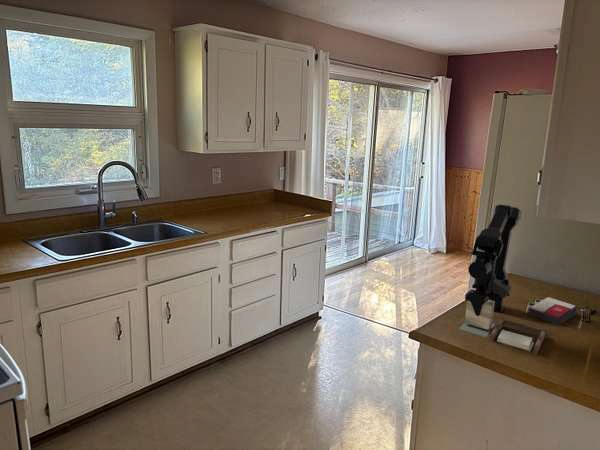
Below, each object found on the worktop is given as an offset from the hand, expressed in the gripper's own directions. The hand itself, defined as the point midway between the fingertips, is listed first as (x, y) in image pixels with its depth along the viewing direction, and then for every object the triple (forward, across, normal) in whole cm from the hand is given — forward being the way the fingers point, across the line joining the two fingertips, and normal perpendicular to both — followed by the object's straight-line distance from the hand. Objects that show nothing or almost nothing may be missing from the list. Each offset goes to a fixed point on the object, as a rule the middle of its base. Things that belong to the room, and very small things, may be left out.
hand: (479, 313), depth 158 cm
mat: (+6, 0, 0) cm, 6 cm away
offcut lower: (+6, -3, -13) cm, 15 cm away
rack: (+6, 0, -13) cm, 14 cm away
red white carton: (+6, +30, -19) cm, 36 cm away
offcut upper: (+5, -3, -13) cm, 14 cm away
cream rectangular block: (+4, 0, 0) cm, 4 cm away
